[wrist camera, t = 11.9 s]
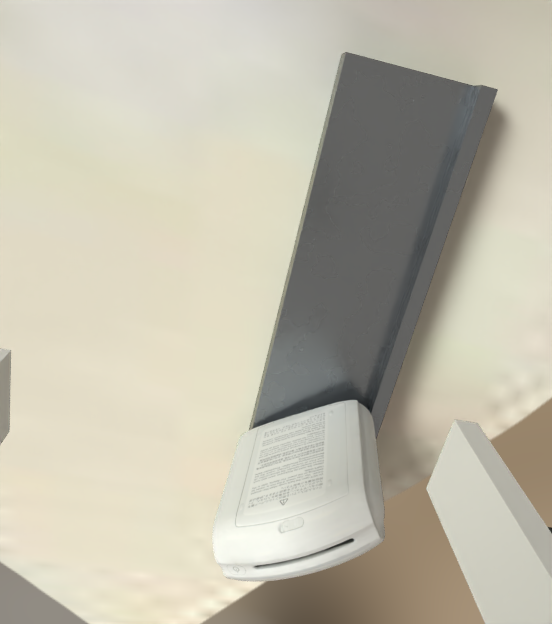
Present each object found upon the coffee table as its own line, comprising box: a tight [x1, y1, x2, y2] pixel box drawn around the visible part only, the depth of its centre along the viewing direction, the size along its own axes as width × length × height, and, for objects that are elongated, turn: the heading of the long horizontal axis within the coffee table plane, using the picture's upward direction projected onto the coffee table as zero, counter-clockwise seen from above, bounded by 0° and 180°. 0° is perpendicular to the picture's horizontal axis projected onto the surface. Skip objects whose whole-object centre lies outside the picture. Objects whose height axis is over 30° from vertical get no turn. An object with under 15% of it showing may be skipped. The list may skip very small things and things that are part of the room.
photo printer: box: [213, 400, 385, 581], centre depth 34 cm, size 10×4×12 cm, turn 113°
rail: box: [249, 52, 498, 438], centre depth 36 cm, size 32×9×6 cm, turn 167°
